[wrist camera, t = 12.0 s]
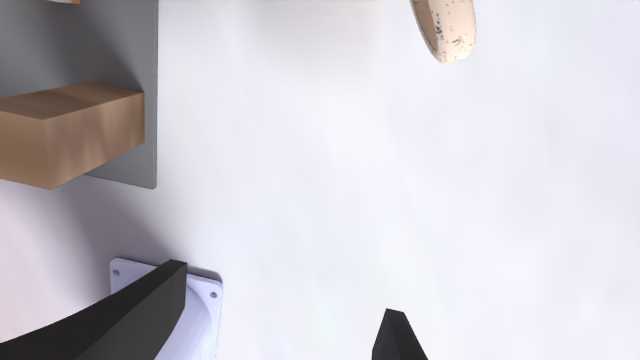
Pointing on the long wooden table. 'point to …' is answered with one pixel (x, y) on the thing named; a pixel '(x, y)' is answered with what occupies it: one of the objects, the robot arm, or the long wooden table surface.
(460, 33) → the teacup with lid
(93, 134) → the tan wooden brick
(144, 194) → the long wooden table surface
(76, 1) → the tile
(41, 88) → the mat
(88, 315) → the robot arm
